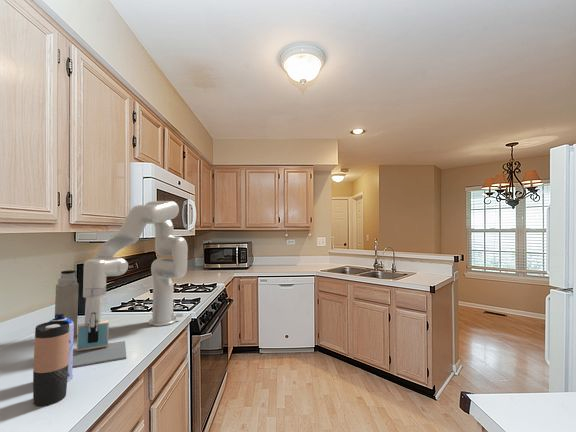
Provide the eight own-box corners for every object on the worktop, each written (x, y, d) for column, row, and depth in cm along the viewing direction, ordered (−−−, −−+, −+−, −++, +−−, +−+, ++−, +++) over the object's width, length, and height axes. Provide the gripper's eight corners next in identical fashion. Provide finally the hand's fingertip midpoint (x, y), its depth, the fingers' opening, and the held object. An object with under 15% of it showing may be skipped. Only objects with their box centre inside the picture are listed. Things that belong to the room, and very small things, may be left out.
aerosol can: (33, 386, 92) (36, 317, 93) (55, 373, 100) (57, 310, 101) (59, 387, 92) (62, 317, 92) (78, 374, 100) (80, 310, 100)
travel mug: (62, 388, 91) (64, 318, 91) (71, 398, 86) (73, 324, 87) (28, 400, 85) (31, 324, 86) (36, 410, 80) (39, 330, 81)
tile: (108, 343, 123) (108, 320, 123) (108, 346, 120) (108, 322, 120) (77, 348, 118) (78, 324, 118) (76, 351, 115) (77, 326, 116)
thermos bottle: (50, 337, 132) (52, 271, 134) (71, 332, 139) (73, 269, 140) (59, 341, 128) (62, 272, 129) (80, 335, 135) (82, 270, 136)
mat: (124, 342, 128) (125, 340, 128) (126, 358, 112) (126, 356, 112) (58, 352, 117) (58, 350, 117) (49, 371, 101) (49, 369, 101)
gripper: (84, 289, 125) (83, 335, 125) (80, 297, 111) (79, 349, 110) (106, 287, 129) (105, 332, 128) (105, 295, 114) (104, 346, 114)
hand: (93, 340), depth 119 cm, fingers open, 3 cm apart
